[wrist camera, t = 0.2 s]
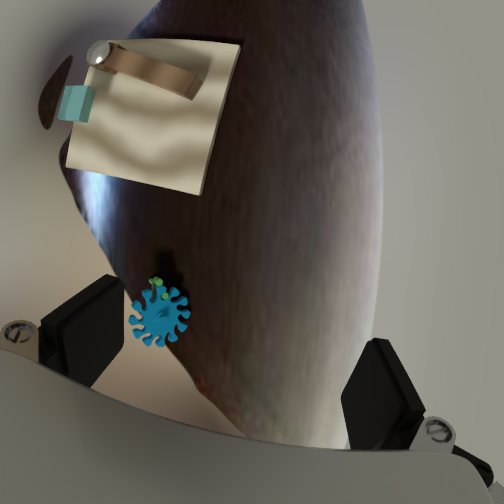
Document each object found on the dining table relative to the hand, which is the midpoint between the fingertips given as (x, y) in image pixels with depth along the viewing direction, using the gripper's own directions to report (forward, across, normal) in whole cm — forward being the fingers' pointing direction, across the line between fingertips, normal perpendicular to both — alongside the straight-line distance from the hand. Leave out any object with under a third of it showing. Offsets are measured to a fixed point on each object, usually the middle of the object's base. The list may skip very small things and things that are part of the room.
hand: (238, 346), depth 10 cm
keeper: (+29, +29, -12) cm, 43 cm away
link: (+29, +21, -18) cm, 40 cm away
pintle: (+29, +28, -20) cm, 45 cm away
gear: (+31, +12, +17) cm, 38 cm away
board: (+31, +21, -12) cm, 39 cm away
